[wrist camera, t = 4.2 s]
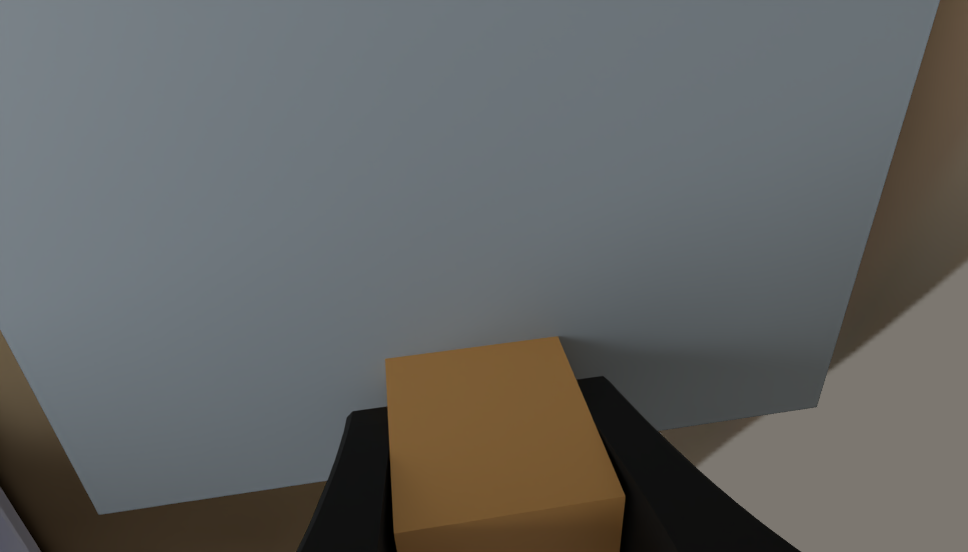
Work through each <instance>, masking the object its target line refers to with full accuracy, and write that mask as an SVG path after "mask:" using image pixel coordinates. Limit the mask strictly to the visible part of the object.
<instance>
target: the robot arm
mask: <svg viewBox="0 0 968 552" xmlns="http://www.w3.org/2000/svg"><path fill="white" fill-rule="evenodd" d="M577 383H578V385H579V387H580V390H581V392H582V395H583V397H584V399H585V402H586V404H587V406H588V409H589V411H590V413H591V416H592V419H593V421H594V423H595V425H596V428H597V430H598V432H599V435H600V437H601V440H602V442H603V444H604V447H605V449H606V451H607V454H608V456H609V458H610V461H611V463H612V466H613V468H614V470H615V473H616V475H617V477H618V480H619V482H620V485H621V487H622V489H623V492H624V494H625V506H624V515H623V524H622V534H621V543H620V552H801V551H799V550H798V549H796V548H795V547H793V546H792V545H791V544H789V543H788V542H787V541H785V540H784V539H783V538H781V537H780V536H779V535H777V534H776V533H775V532H773V531H772V530H771V529H769V528H768V527H767V526H765V525H764V524H763V523H761V522H760V521H759V520H758V519H756V518H755V517H754V516H752V515H751V514H750V513H749V512H747V511H746V510H745V509H744V508H743V507H741V506H740V505H739V504H738V503H736V502H735V501H734V500H733V499H732V498H731V497H729V496H728V495H727V494H726V493H724V492H723V491H722V490H721V489H720V488H718V487H717V486H716V485H715V484H714V483H713V482H712V481H711V480H709V479H708V478H707V477H706V476H705V475H704V474H703V473H702V472H700V471H699V470H698V469H697V468H696V467H695V466H694V465H693V464H692V463H691V462H690V461H688V460H687V459H686V458H685V457H684V456H683V455H682V454H681V453H680V452H679V451H678V450H677V449H676V448H675V447H674V446H672V445H671V444H670V443H669V442H668V441H667V440H666V439H665V438H664V437H663V436H662V435H661V434H660V433H659V432H658V431H657V430H656V429H655V428H654V427H653V426H652V425H651V424H650V423H649V422H648V421H647V420H646V419H645V418H644V417H643V416H642V415H641V414H640V413H639V412H638V411H637V410H636V409H635V408H634V407H633V406H632V405H631V403H630V402H629V401H628V400H627V399H626V398H625V397H624V396H623V395H622V394H621V393H620V392H619V391H618V390H617V389H616V388H615V386H614V385H613V384H612V383H611V382H610V381H609V380H608V379H606V378H605V377H604V376H598V377H591V378H584V379H577ZM0 552H41V551H40V549H39V547H38V546H37V544H36V543H35V541H34V539H33V538H32V536H31V535H30V533H29V532H28V530H27V528H26V527H25V525H24V524H23V522H22V520H21V519H20V517H19V516H18V514H17V513H16V511H15V509H14V508H13V506H12V505H11V503H10V501H9V500H8V498H7V497H6V495H5V493H4V492H3V490H2V489H1V487H0ZM297 552H397V549H396V543H395V537H394V527H393V507H392V487H391V467H390V447H389V427H388V407H387V406H386V407H379V408H372V409H365V410H357V411H352V412H351V413H350V414H349V416H348V417H347V419H346V423H345V428H344V432H343V435H342V439H341V442H340V446H339V449H338V452H337V455H336V458H335V461H334V464H333V466H332V469H331V472H330V475H329V478H328V480H327V483H326V485H325V488H324V490H323V493H322V495H321V498H320V500H319V502H318V505H317V507H316V510H315V512H314V515H313V517H312V519H311V522H310V524H309V526H308V529H307V531H306V533H305V535H304V537H303V539H302V541H301V543H300V545H299V547H298V549H297Z"/></svg>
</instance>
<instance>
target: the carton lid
mask: <svg viewBox="0 0 968 552" xmlns="http://www.w3.org/2000/svg"><path fill="white" fill-rule="evenodd" d="M939 2H940V0H0V330H1V332H2V334H3V336H4V337H5V339H6V341H7V343H8V345H9V347H10V349H11V351H12V352H13V354H14V356H15V358H16V360H17V362H18V364H19V366H20V368H21V369H22V371H23V373H24V375H25V377H26V379H27V381H28V383H29V384H30V386H31V388H32V390H33V392H34V394H35V396H36V398H37V400H38V401H39V403H40V405H41V407H42V409H43V411H44V413H45V415H46V416H47V418H48V420H49V422H50V424H51V426H52V428H53V430H54V431H55V433H56V435H57V437H58V439H59V441H60V443H61V445H62V447H63V448H64V450H65V452H66V454H67V456H68V458H69V460H70V462H71V463H72V465H73V467H74V469H75V471H76V473H77V475H78V477H79V479H80V480H81V482H82V484H83V486H84V488H85V490H86V492H87V494H88V495H89V497H90V499H91V501H92V503H93V505H94V507H95V509H96V510H97V512H98V514H99V515H101V514H108V513H115V512H121V511H128V510H135V509H141V508H148V507H155V506H161V505H168V504H175V503H181V502H188V501H195V500H201V499H208V498H215V497H221V496H228V495H235V494H241V493H248V492H255V491H261V490H268V489H275V488H281V487H288V486H295V485H301V484H308V483H315V482H321V481H327V480H328V478H329V475H330V472H331V469H332V466H333V464H334V461H335V458H336V455H337V452H338V449H339V446H340V442H341V439H342V435H343V432H344V428H345V423H346V419H347V417H348V416H349V414H350V413H351V412H352V411H357V410H365V409H372V408H379V407H386V406H387V407H388V427H389V447H390V467H391V487H392V507H393V527H394V537H395V543H396V549H397V552H620V543H621V534H622V524H623V515H624V506H625V494H624V492H623V489H622V487H621V485H620V482H619V480H618V477H617V475H616V473H615V470H614V468H613V466H612V463H611V461H610V458H609V456H608V454H607V451H606V449H605V447H604V444H603V442H602V440H601V437H600V435H599V432H598V430H597V428H596V425H595V423H594V421H593V419H592V416H591V413H590V411H589V409H588V406H587V404H586V402H585V399H584V397H583V395H582V392H581V390H580V387H579V385H578V383H577V379H584V378H591V377H598V376H604V377H605V378H606V379H608V380H609V381H610V382H611V383H612V384H613V385H614V386H615V388H616V389H617V390H618V391H619V392H620V393H621V394H622V395H623V396H624V397H625V398H626V399H627V400H628V401H629V402H630V403H631V405H632V406H633V407H634V408H635V409H636V410H637V411H638V412H639V413H640V414H641V415H642V416H643V417H644V418H645V419H646V420H647V421H648V422H649V423H650V424H651V425H652V426H653V427H654V428H655V429H656V430H657V431H661V430H668V429H674V428H681V427H688V426H694V425H701V424H708V423H714V422H721V421H728V420H734V419H741V418H748V417H754V416H761V415H768V414H774V413H780V412H787V411H794V410H801V409H807V408H814V407H817V404H818V401H819V398H820V394H821V391H822V388H823V384H824V381H825V378H826V375H827V371H828V368H829V365H830V361H831V358H832V355H833V351H834V348H835V345H836V342H837V338H838V335H839V332H840V328H841V325H842V322H843V318H844V315H845V312H846V309H847V305H848V302H849V299H850V295H851V292H852V289H853V286H854V282H855V279H856V276H857V272H858V269H859V266H860V262H861V259H862V256H863V253H864V249H865V246H866V243H867V239H868V236H869V233H870V229H871V226H872V223H873V220H874V216H875V213H876V210H877V206H878V203H879V200H880V196H881V193H882V190H883V187H884V183H885V180H886V177H887V173H888V170H889V167H890V163H891V160H892V157H893V154H894V150H895V147H896V144H897V140H898V137H899V134H900V130H901V127H902V124H903V121H904V117H905V114H906V111H907V107H908V104H909V101H910V97H911V94H912V91H913V88H914V84H915V81H916V78H917V74H918V71H919V68H920V64H921V61H922V58H923V55H924V51H925V48H926V45H927V41H928V38H929V35H930V31H931V28H932V25H933V22H934V18H935V15H936V12H937V8H938V5H939Z"/></svg>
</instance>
